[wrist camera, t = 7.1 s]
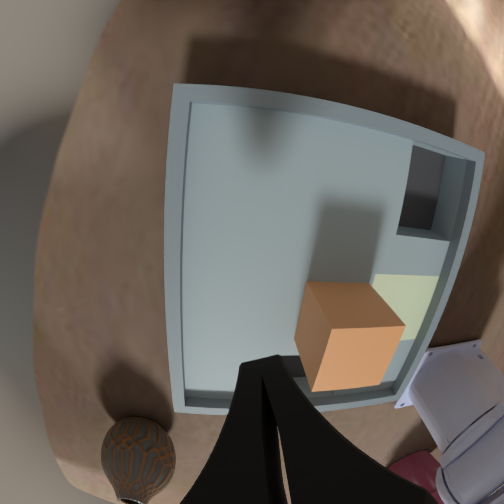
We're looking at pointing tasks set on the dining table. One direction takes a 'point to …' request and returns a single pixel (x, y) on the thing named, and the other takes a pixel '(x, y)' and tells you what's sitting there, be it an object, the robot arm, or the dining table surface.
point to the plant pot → (419, 471)
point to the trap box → (301, 232)
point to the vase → (137, 459)
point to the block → (345, 335)
